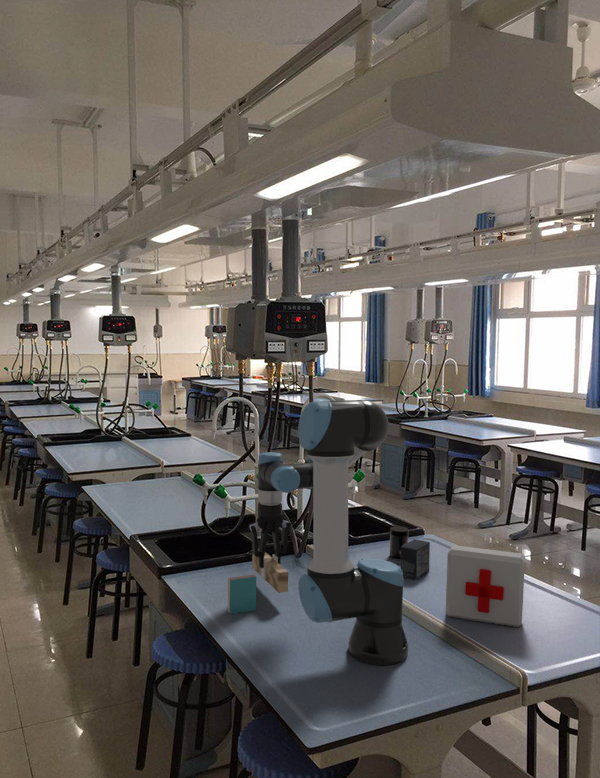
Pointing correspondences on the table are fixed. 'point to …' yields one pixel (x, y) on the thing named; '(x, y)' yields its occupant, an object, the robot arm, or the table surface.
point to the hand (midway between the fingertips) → (269, 576)
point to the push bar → (273, 573)
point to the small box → (415, 558)
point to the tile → (242, 594)
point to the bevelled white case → (485, 585)
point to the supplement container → (397, 540)
